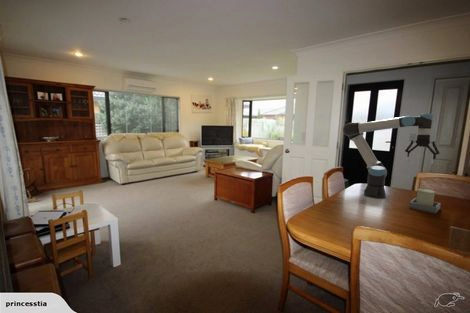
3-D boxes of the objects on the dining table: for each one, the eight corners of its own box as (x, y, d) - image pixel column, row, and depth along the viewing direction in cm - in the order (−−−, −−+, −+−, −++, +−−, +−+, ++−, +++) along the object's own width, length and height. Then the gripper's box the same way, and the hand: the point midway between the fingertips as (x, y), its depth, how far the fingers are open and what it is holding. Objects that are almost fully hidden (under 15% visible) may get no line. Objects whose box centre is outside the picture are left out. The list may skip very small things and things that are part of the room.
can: (425, 204, 157) (428, 188, 155) (436, 209, 148) (439, 192, 146) (412, 204, 158) (414, 187, 156) (421, 208, 149) (424, 191, 147)
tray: (409, 207, 154) (409, 202, 153) (414, 203, 163) (414, 197, 162) (435, 213, 143) (436, 208, 142) (439, 208, 152) (440, 203, 151)
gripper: (402, 133, 174) (399, 160, 177) (445, 135, 155) (440, 165, 158) (405, 133, 179) (402, 159, 182) (447, 134, 159) (443, 163, 162)
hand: (420, 162), depth 170 cm, fingers open, 13 cm apart
